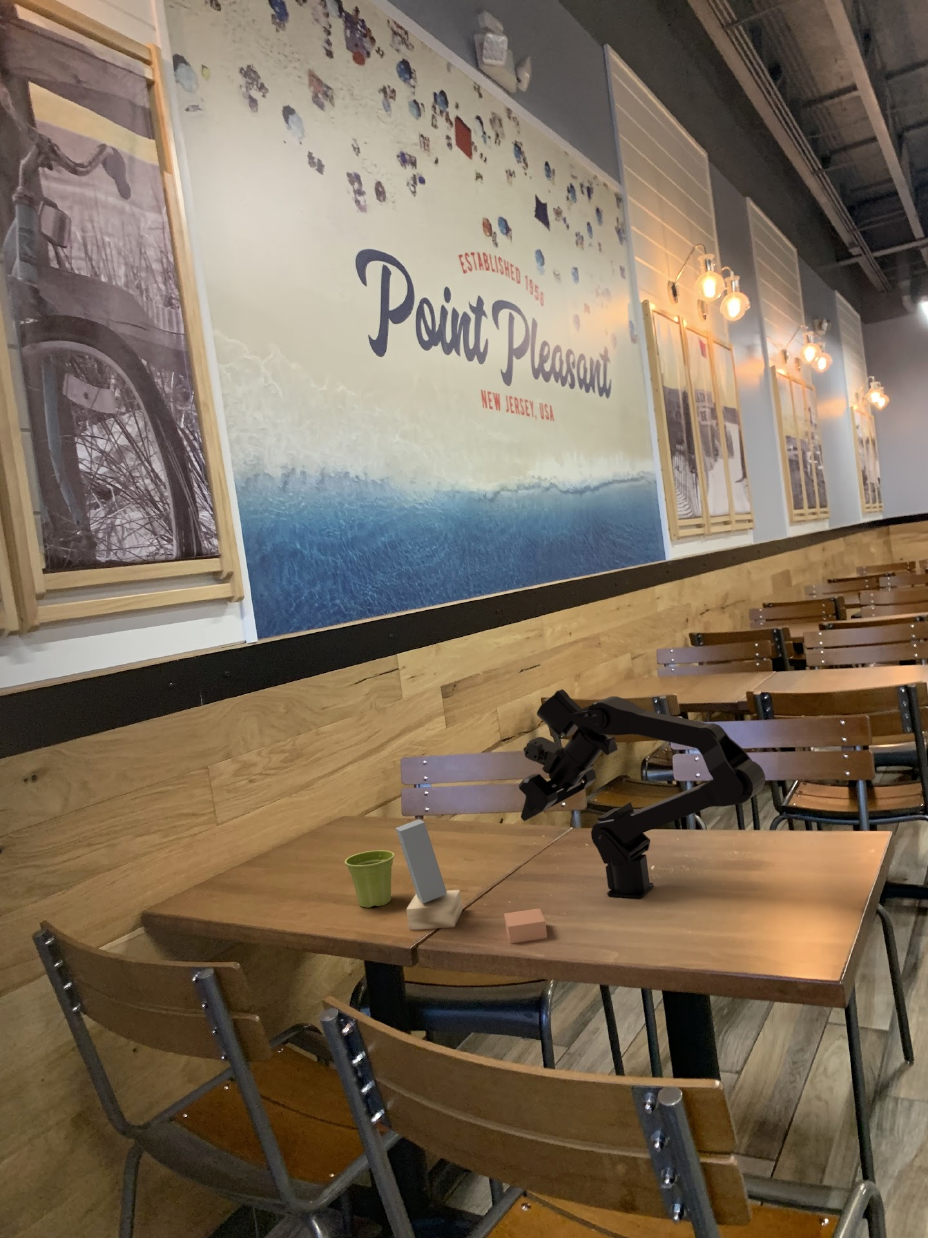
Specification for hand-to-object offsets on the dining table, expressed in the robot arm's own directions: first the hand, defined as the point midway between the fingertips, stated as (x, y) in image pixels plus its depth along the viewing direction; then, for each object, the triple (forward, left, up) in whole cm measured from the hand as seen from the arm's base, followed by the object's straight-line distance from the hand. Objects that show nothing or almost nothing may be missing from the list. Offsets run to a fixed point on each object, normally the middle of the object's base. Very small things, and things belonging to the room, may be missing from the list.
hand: (536, 812), depth 173 cm
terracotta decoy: (-8, +23, -14) cm, 28 cm away
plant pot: (+28, +16, -14) cm, 35 cm away
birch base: (+11, +21, -14) cm, 27 cm away
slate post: (+11, +21, -9) cm, 25 cm away
